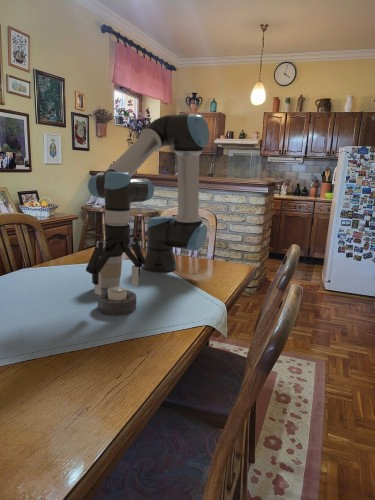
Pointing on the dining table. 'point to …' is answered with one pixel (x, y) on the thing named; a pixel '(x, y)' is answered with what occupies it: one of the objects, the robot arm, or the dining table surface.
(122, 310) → the dark round ashtray
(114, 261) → the coffee cup
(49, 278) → the dining table surface
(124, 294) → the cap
